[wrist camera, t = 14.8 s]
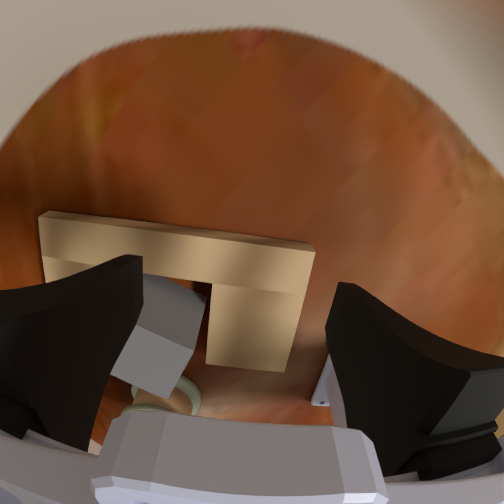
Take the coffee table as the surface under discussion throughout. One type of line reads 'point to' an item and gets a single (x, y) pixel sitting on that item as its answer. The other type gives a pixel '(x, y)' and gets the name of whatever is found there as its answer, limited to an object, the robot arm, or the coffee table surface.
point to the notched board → (199, 277)
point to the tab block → (161, 336)
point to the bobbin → (179, 401)
